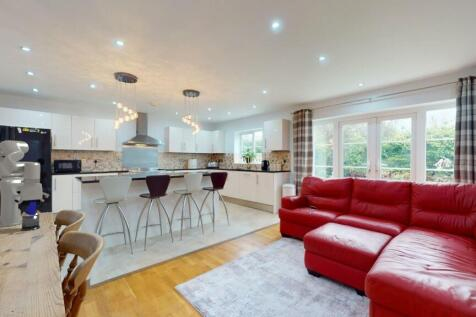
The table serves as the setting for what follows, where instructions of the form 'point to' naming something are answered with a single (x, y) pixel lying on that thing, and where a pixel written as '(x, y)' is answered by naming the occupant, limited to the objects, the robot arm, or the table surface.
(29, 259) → the table surface
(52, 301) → the table surface
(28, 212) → the cable clip
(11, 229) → the table surface
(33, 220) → the motor
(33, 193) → the robot arm
